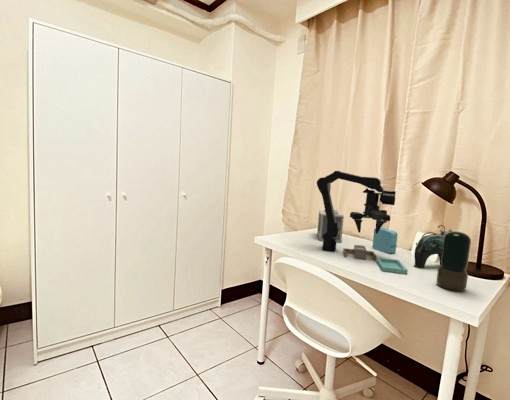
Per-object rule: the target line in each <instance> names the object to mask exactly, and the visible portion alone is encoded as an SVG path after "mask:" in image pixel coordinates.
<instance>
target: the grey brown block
mask: <svg viewBox="0 0 510 400" xmlns="http://www.w3.org/2000/svg"><path fill="white" fill-rule="evenodd" d="M353 249H354V254H353V257H354V259H355V260H361V261H366V259H367V255H366V252H367V251H368V250H367V249H366V246H365V245H361V244H360V245H359V244H354V245H353Z"/></svg>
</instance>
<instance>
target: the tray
mask: <svg viewBox="0 0 510 400" xmlns="http://www.w3.org/2000/svg"><path fill="white" fill-rule="evenodd" d="M375 262H376V263H377V265H378V267H379V269H380V270H381V271H382V272H383V273H393V274H399V275H408V269H407V267H406V266H405V265H404V264H403V263H402V262H401V260H400V259H393V258H386V257H384V258H383V257H378V256H377V257H376V260H375Z"/></svg>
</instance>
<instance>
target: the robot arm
mask: <svg viewBox="0 0 510 400" xmlns="http://www.w3.org/2000/svg"><path fill="white" fill-rule="evenodd" d="M337 180H344V181H347V182H351V183H356V184H360V185H361V186H364V187H365V190H363V191H362V193H364V194H366V195H365V196H366V197H365V203H364V204H363V205H364V206H365V207H364V211H362V212H359V211H351V212H350V213H349V218H351V219H353V221H354V223H355V225H356V229H357V232H358V233H359V234H360V233H361V229H362V222H363V219H372V220H374V221H375V228H376V230H375V231H376V234H377V233H378V232H379V230H380V228H382V226H383V225H384V224H385V223H387V224H388V222H391V216H390V214H388V210H386V209H380V205H379V202H380V203H381V205H389V206H395V203H396V193H397V192H396V190H395V191H394V190H391V191H390V190H384V188H383V186H382V181H381V180H380V178H378V177H371V176H370V177H369V176H361V175H357V174H353V173H348V172H344V171H340V170H335V171H334V172H333V171H332V173H330V174H327V175H326V176H324V177H319V178H318V179H317V181H316V186H317V189H318V190H319V192H320V194H321V197H322V201H323V207H324V210H325V212H326V216H327V232H326V233H325V234H324V235H322V236H323V242H322V247H321V248H322V251H325V252H326V251H328V252H335V251H336V250H337V243H336V241H335V240H336V239H335V237H336V236H337V235H338V234H339V233H340V231H341V230H340V229H342V228H341V226H340V221H339V222H337V221H336V219H335V214H334V210H335V209H334V206H333V201H332V195H331V188H332V186H331V184H333V183H334V182H336V181H337ZM376 191H377V192H376Z"/></svg>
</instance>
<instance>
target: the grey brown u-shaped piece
mask: <svg viewBox="0 0 510 400" xmlns="http://www.w3.org/2000/svg"><path fill="white" fill-rule="evenodd" d="M342 254H343V256H344V258H347V257H348V254H353V255H354V248H346V247H345V248H343V250H342ZM366 256H371V257H372V259H373V261H376V257H377V258H378V256H377V255H376V253H375V251H372V250H367V252H366Z"/></svg>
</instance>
